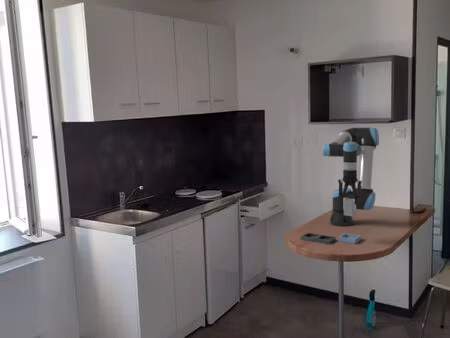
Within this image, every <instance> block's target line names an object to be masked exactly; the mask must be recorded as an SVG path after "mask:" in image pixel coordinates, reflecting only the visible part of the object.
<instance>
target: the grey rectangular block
mask: <svg viewBox="0 0 450 338" xmlns="http://www.w3.org/2000/svg"><path fill="white" fill-rule="evenodd" d="M356 210H357V209H356ZM356 210H353V199H349V198H347V199H345V200H344V215H346V216H352V217H353V216H355V215H356Z"/></svg>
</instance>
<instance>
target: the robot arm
mask: <svg viewBox="0 0 450 338" xmlns="http://www.w3.org/2000/svg"><path fill="white" fill-rule="evenodd" d="M379 145H380V137H379V131H378V129H377V128H376V127H370V126H369V127H350V128H347V129H345V130H342V131H341V132H340V133H338V134H337V137H336V138H334V140H333V141H331V142H330V143H324V144H323V145H322V147H321V150H322V151H321V153H322V155H323V156H324V157H335V158H337V157H342V158H343V160H342V161H343V164H342V166H343V167H342V168H343V170H342V173H343V174H342V176H343V177H342V178H340V179H337V182H338V188H337V189H334V190H333V192H332V212H331V215H330V217H329V224H331V225H332V226H338V227H349V226H352V225H354V218H353V216H346V215H344V200H345V199H347V198H349V199H353V210H359V211H360V210H361V211H362V210H363V211H371V210H372V209H373V208H374V207H375V202H376V192H374V189H373V188H372V175H373V162H374V161H373V160H374V151H375V150H376V149H377V146H379ZM358 157H359V158H358ZM357 169H358V170H357ZM343 183H344V187H343ZM349 186H350V188H349Z"/></svg>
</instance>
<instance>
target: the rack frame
mask: <svg viewBox="0 0 450 338" xmlns="http://www.w3.org/2000/svg"><path fill="white" fill-rule="evenodd" d="M300 240H302V241H308V242H313V243H318V244H319V243H320V244H324V245H325V244H326V245H331V244H332V243H334V242H335V241H336V240H337V238H336V236H331V235H326V234H318V233H312V232H306V233H304V234H302V235H300Z"/></svg>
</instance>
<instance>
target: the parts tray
mask: <svg viewBox="0 0 450 338" xmlns="http://www.w3.org/2000/svg"><path fill="white" fill-rule="evenodd" d="M337 239H338V240H337V241H338V242H341V243H347V244H353V245H356V244H357V243H359V242H360V241H361V240H362V235H360V234H354V233H348V232H344V233H342V234H341V235H339V236H338V237H337Z"/></svg>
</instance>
